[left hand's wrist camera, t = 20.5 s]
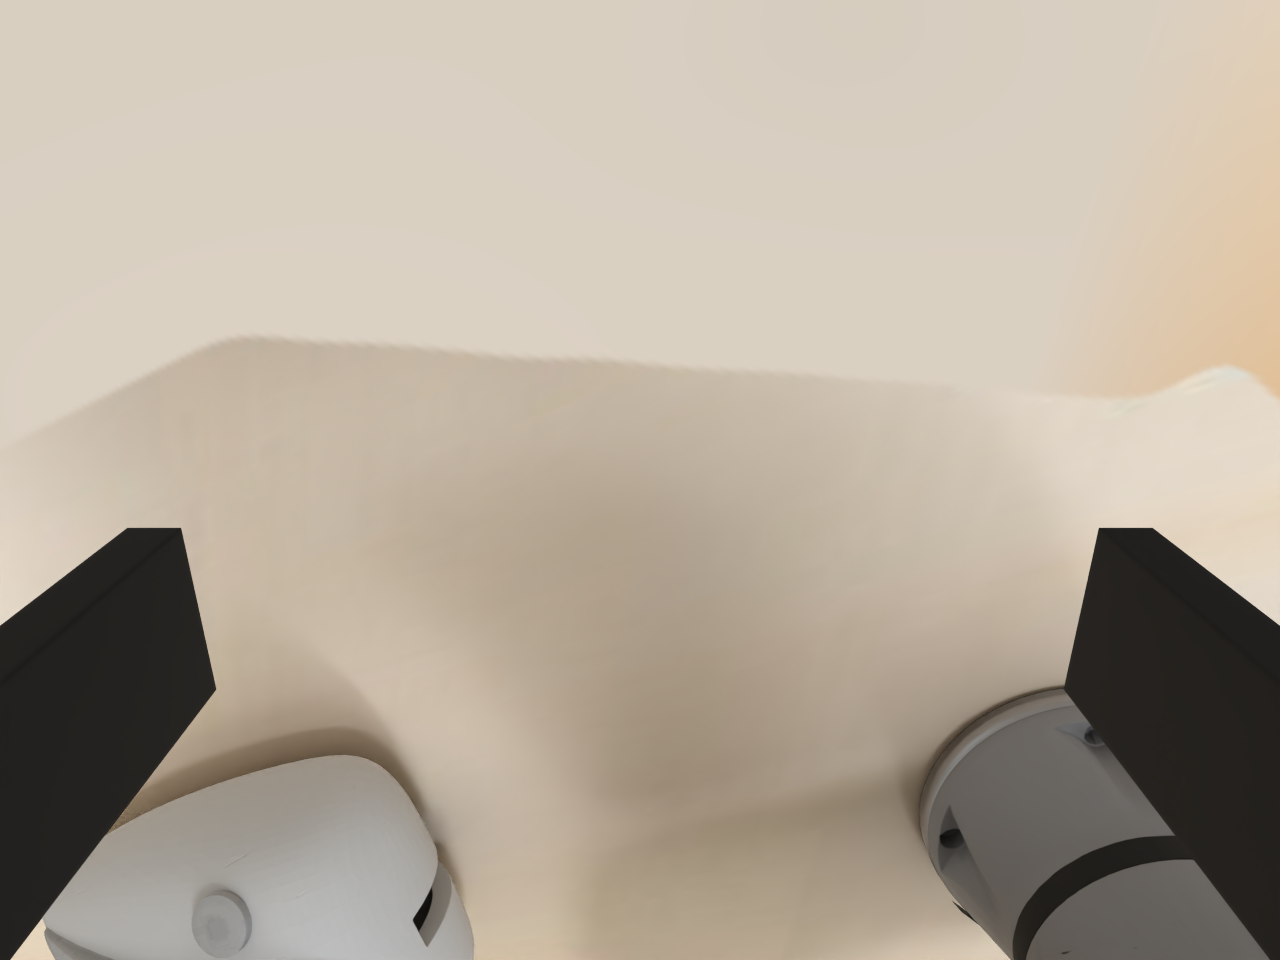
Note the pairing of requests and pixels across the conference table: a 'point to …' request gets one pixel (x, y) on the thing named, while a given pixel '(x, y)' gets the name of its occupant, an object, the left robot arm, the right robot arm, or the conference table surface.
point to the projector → (268, 875)
